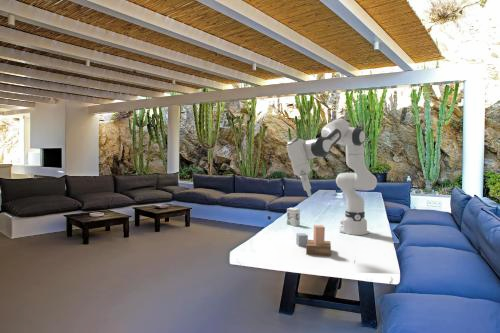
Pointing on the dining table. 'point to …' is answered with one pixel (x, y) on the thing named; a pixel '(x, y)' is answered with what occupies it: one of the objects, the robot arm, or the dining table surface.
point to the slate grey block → (301, 239)
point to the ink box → (293, 216)
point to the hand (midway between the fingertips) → (309, 193)
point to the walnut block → (318, 248)
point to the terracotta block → (319, 234)
